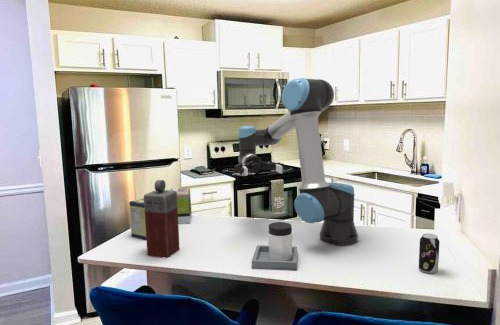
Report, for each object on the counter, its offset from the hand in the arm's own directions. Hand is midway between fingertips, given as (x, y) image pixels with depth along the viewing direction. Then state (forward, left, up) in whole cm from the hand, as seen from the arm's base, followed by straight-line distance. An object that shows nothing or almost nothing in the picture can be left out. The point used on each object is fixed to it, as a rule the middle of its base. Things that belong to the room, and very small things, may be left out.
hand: (264, 171), depth 142 cm
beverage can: (-55, +17, -30) cm, 65 cm away
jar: (-6, +12, -30) cm, 33 cm away
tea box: (+45, -33, -30) cm, 64 cm away
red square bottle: (+39, +9, -30) cm, 50 cm away
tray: (-5, +13, -30) cm, 33 cm away
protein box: (+51, -12, -30) cm, 61 cm away
